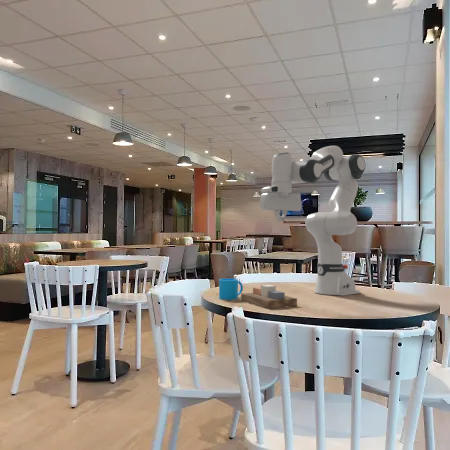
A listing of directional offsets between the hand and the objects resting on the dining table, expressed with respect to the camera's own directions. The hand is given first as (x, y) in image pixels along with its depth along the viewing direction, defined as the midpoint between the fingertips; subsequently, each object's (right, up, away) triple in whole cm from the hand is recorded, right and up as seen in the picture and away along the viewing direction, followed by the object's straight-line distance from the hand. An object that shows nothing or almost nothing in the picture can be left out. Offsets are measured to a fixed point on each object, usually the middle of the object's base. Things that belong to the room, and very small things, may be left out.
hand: (281, 220), depth 188 cm
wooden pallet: (-7, -34, -11) cm, 36 cm away
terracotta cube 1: (-10, -33, -6) cm, 35 cm away
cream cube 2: (-7, -31, -11) cm, 34 cm away
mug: (-21, -34, +1) cm, 40 cm away
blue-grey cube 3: (-4, -33, -17) cm, 37 cm away
